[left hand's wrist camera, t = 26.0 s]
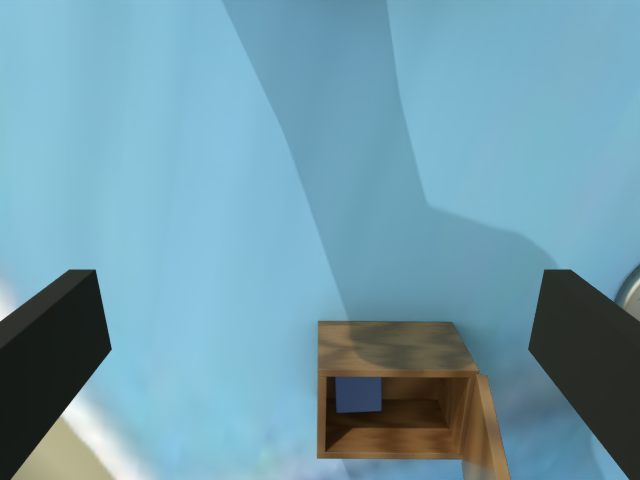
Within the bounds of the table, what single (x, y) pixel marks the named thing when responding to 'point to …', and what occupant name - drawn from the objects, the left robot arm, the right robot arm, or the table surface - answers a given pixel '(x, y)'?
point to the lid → (483, 438)
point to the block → (358, 394)
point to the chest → (395, 390)
